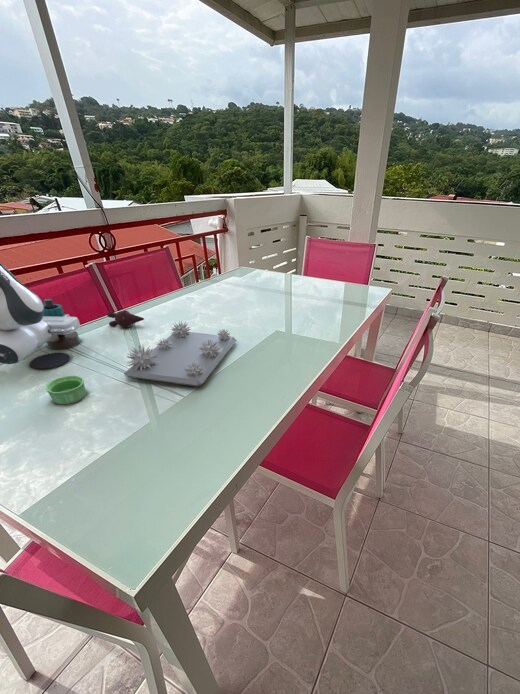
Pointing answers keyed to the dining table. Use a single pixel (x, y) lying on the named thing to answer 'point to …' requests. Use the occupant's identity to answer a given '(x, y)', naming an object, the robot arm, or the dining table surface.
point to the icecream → (123, 318)
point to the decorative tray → (181, 357)
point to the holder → (61, 340)
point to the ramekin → (66, 389)
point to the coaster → (50, 361)
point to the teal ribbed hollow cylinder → (54, 311)
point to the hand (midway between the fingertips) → (55, 315)
